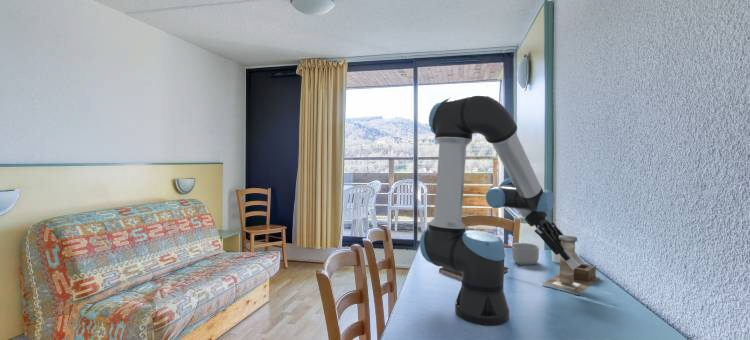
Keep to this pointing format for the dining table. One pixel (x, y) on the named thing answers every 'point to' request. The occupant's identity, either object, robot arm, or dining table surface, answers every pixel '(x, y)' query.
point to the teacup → (525, 253)
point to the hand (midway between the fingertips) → (578, 266)
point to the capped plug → (565, 269)
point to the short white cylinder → (555, 257)
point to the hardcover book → (458, 274)
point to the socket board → (576, 280)
